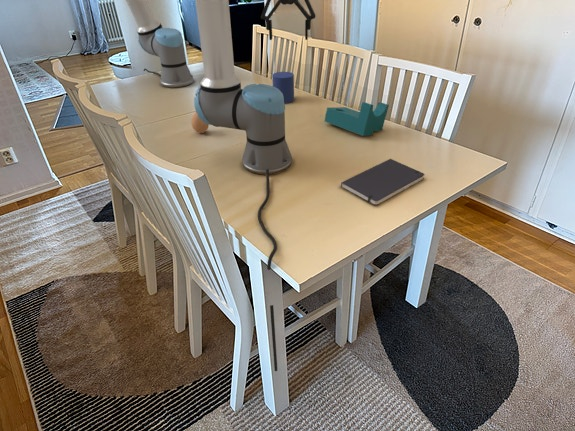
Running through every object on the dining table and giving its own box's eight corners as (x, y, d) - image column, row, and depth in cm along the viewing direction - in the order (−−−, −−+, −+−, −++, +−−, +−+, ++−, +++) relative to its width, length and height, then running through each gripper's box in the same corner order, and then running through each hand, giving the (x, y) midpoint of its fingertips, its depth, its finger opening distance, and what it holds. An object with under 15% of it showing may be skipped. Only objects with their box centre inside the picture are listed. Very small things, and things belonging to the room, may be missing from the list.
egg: (195, 137, 143) (191, 115, 138) (191, 131, 147) (187, 110, 142) (211, 134, 144) (208, 112, 140) (207, 127, 149) (204, 107, 144)
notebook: (389, 163, 124) (340, 187, 113) (390, 158, 123) (341, 182, 112) (424, 178, 116) (375, 206, 105) (425, 174, 115) (376, 201, 104)
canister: (283, 94, 177) (282, 70, 170) (298, 99, 172) (298, 74, 165) (269, 100, 171) (267, 75, 165) (284, 105, 166) (283, 79, 160)
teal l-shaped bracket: (380, 134, 144) (388, 104, 140) (363, 135, 137) (370, 104, 132) (342, 120, 155) (349, 92, 151) (324, 121, 148) (330, 92, 143)
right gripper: (323, -28, 143) (321, 36, 155) (253, -26, 145) (257, 36, 158) (322, -25, 137) (321, 41, 149) (250, -24, 139) (254, 41, 152)
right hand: (288, 39), depth 154 cm, fingers open, 13 cm apart
